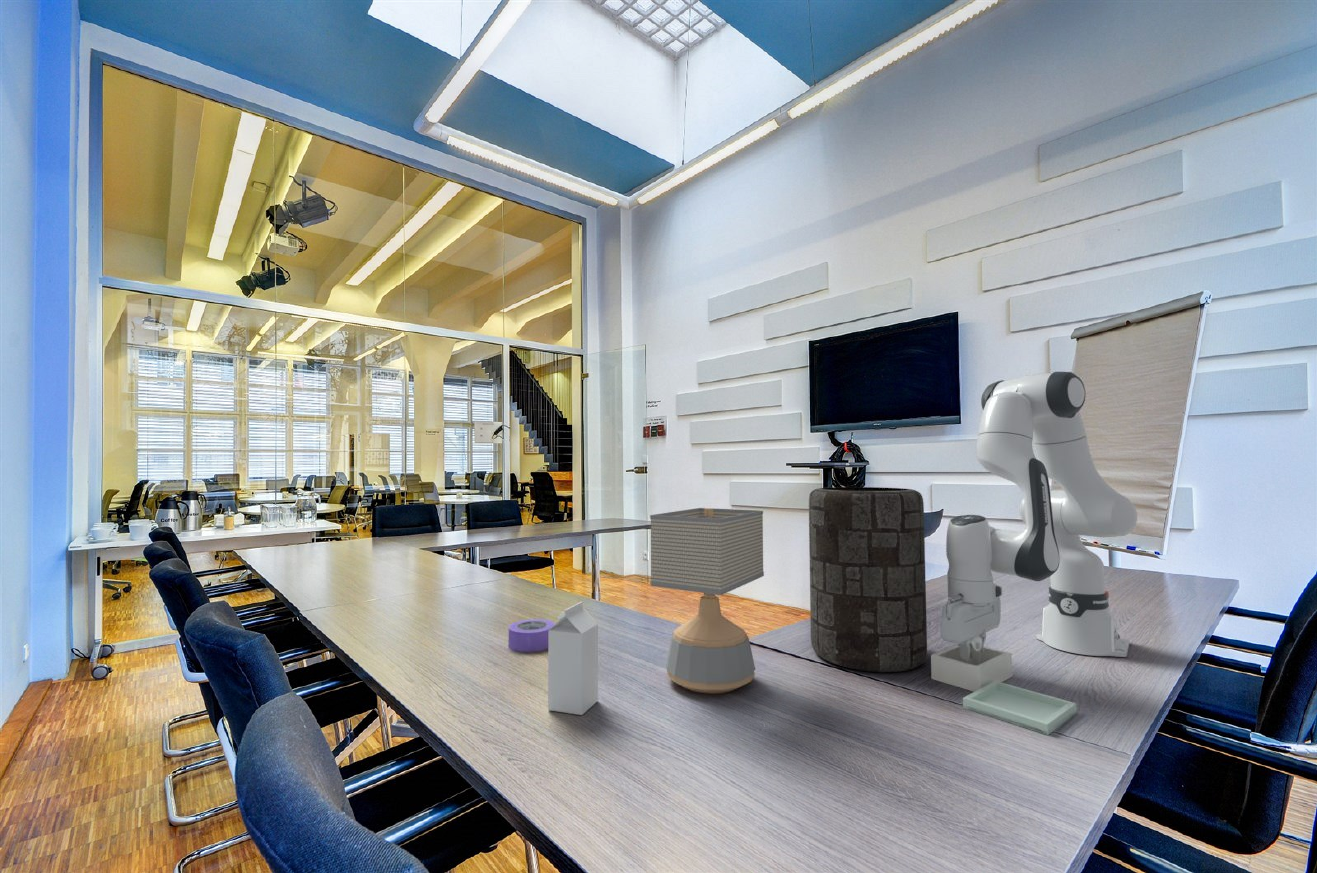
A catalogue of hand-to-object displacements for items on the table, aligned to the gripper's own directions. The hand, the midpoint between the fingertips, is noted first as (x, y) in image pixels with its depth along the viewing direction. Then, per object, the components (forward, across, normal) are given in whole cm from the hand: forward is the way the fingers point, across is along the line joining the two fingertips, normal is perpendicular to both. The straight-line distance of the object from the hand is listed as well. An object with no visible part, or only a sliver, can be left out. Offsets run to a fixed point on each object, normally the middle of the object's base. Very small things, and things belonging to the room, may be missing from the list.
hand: (972, 655), depth 124 cm
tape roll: (+4, -65, +80) cm, 103 cm away
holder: (+5, 0, 0) cm, 5 cm away
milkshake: (+4, 0, 0) cm, 5 cm away
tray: (+5, -10, -13) cm, 17 cm away
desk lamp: (+4, -46, +33) cm, 57 cm away
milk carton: (+4, -75, +40) cm, 85 cm away
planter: (+5, -5, +22) cm, 23 cm away
